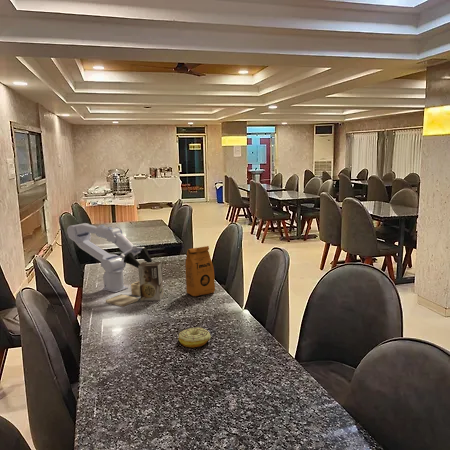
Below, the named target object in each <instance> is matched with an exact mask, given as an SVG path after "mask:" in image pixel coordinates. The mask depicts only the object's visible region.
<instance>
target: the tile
mask: <svg viewBox="0 0 450 450" xmlns="http://www.w3.org/2000/svg"><path fill="white" fill-rule="evenodd" d="M135 302H139V298H138V297H135V296H130V295H125V294H122V293H120V294H119V295H118V294H117V295H116V296H113V297H111V298H107V299H106V300H105V303H107V304H110V305H115V306H117V307H118V306H120V307H123V308H124V307H126V306H128V305H131V304H133V303H135Z"/></svg>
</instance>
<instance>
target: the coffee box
mask: <svg viewBox="0 0 450 450" xmlns="http://www.w3.org/2000/svg"><path fill="white" fill-rule="evenodd" d="M137 269H138V278H139V279H138V280H139V282H140V295H141V296H140V301H142V302H143V301H161V300H162V299H163V297H164V285H163V269H162V262H161V261H152V262H146V261H143V262H141V263H140V265H139V266H138V268H137Z"/></svg>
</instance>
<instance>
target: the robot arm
mask: <svg viewBox="0 0 450 450" xmlns="http://www.w3.org/2000/svg"><path fill="white" fill-rule="evenodd" d="M66 229H67V230H66V233H67V236H68V239H70V240H71V241H73V242H74V243H75V244H76V246H78V248H79V249H81V250H82V251H84V252H85V253H87V254H89V256H91V257H93V258H94V259H96V260H97V261H99V262H100V267H102V268H103V271H105V272H104V273H103V275H102V276H103V277H102V278H103V288H102V290H104V291H106V292H107V291H108V292H112V293H119V292H120V291H121V292H122V291H123V290H126V289H128V288H129V287H128V286H125V282H124V281H125V280H124V270H125V268H126V266H127V264H128V265H130V266H133V267H135V268H136V269H138V266H139V265H140V264H141V263H140V262H139V261H138V260H137V259H136V258H135V256H137V255H138V254H139V258H140V259H142V260H144V262H153V260H152V258H151V256H150V255H149V252H148V249H147V247H145V246H138V245H136V244H134V243H132V242H131V240H129V239H128V238H127V237H126V236H125V235H124V234H123V231H122V229H121V228H120V227H118V226H116V227H112V226H106V225H105V224H100V225H98V226H97V225H93V224H90V223H88V222H87V223H86V222H83V223H79V224H78V223H77V224H73V225H72V224H71V225H68V227H67V228H66ZM91 234H94V235H95V236H96V237H98V238H102V239H106V241H107V242H109V243H112V244H114V245H115V246H116V247H117V248H118V249H119V250H120V251H121V252H122V253H120V255H117V254H113V253H109V252H108V251H106V250H105V249H103V248H101V247H100V246H99V245H96V244H95V243H94V242H92V241H90V240H91Z"/></svg>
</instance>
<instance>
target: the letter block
mask: <svg viewBox="0 0 450 450" xmlns="http://www.w3.org/2000/svg"><path fill="white" fill-rule="evenodd" d="M130 285H131V286H130V287H131V288H130V289H131V295H134V296H139V297H141V295H140V282H139V281H136V282H133V283H131V284H130Z"/></svg>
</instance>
